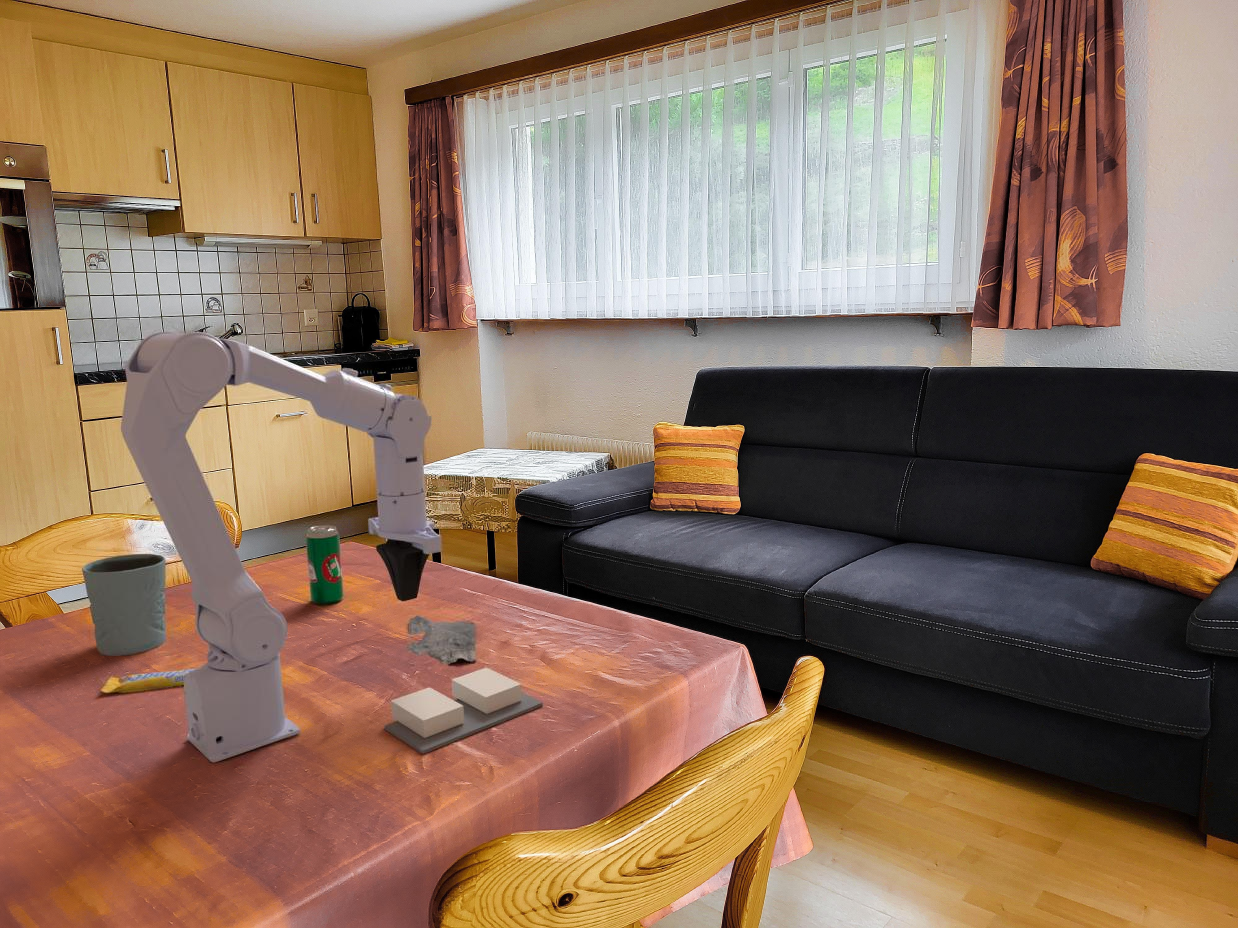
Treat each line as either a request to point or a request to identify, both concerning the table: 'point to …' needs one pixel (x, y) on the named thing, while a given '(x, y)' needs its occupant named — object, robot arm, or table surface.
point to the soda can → (324, 564)
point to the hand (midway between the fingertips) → (407, 598)
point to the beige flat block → (427, 712)
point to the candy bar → (145, 681)
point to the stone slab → (443, 639)
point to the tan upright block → (486, 690)
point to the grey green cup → (127, 602)
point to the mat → (471, 725)
